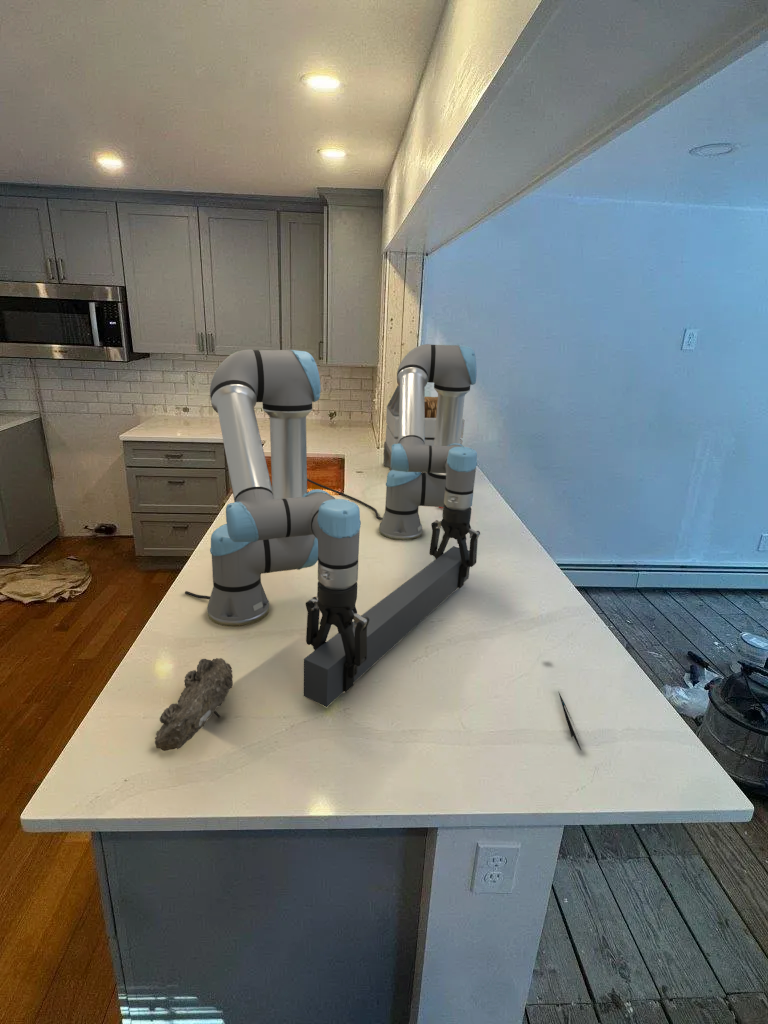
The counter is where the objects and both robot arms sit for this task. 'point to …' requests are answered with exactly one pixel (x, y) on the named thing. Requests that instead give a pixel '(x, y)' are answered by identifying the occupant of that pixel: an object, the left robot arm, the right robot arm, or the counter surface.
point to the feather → (569, 721)
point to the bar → (383, 626)
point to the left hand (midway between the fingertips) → (335, 681)
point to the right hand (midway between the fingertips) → (450, 582)
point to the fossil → (195, 703)
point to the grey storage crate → (393, 424)
